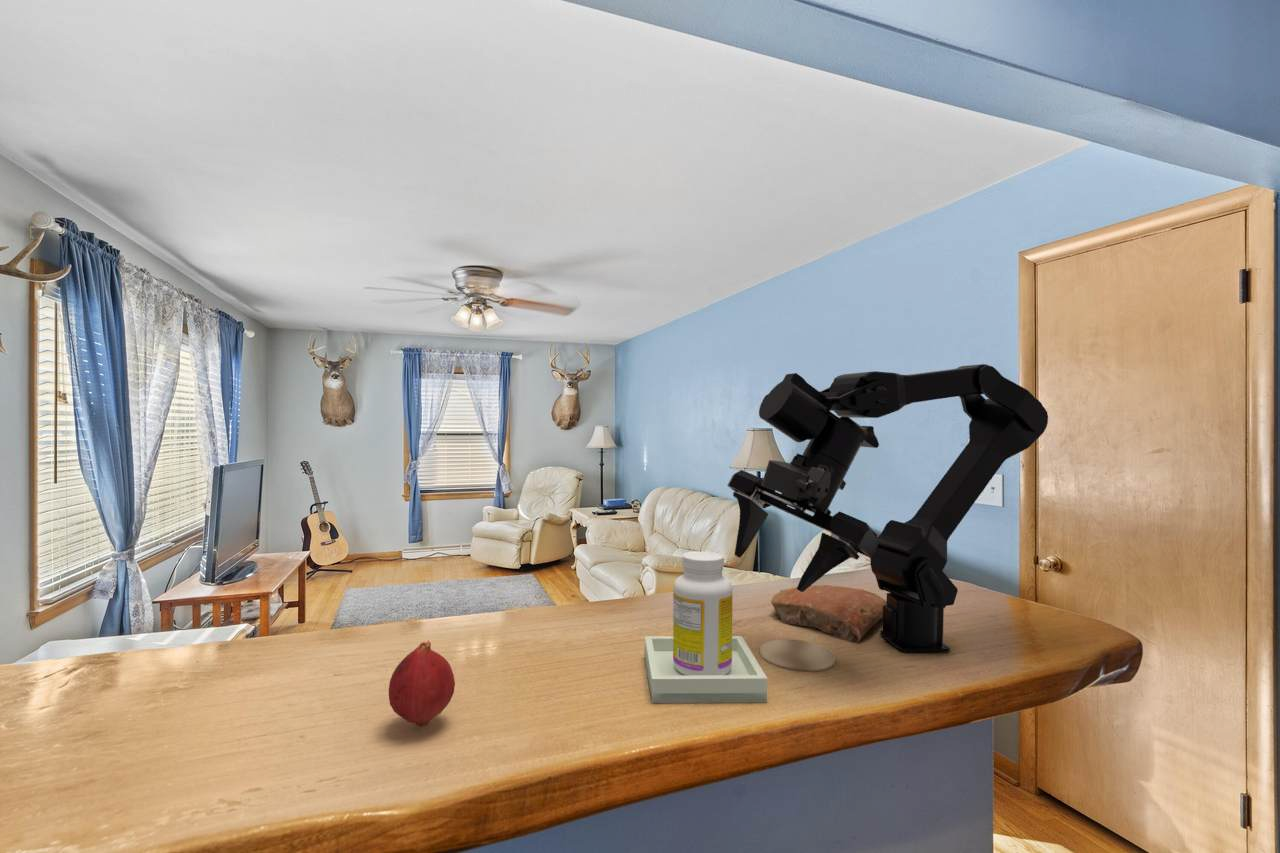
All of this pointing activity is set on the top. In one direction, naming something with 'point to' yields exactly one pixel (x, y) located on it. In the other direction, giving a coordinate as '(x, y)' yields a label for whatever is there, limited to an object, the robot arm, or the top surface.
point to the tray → (703, 676)
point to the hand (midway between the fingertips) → (766, 572)
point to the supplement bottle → (702, 616)
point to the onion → (421, 685)
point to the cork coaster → (797, 655)
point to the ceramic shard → (830, 609)
